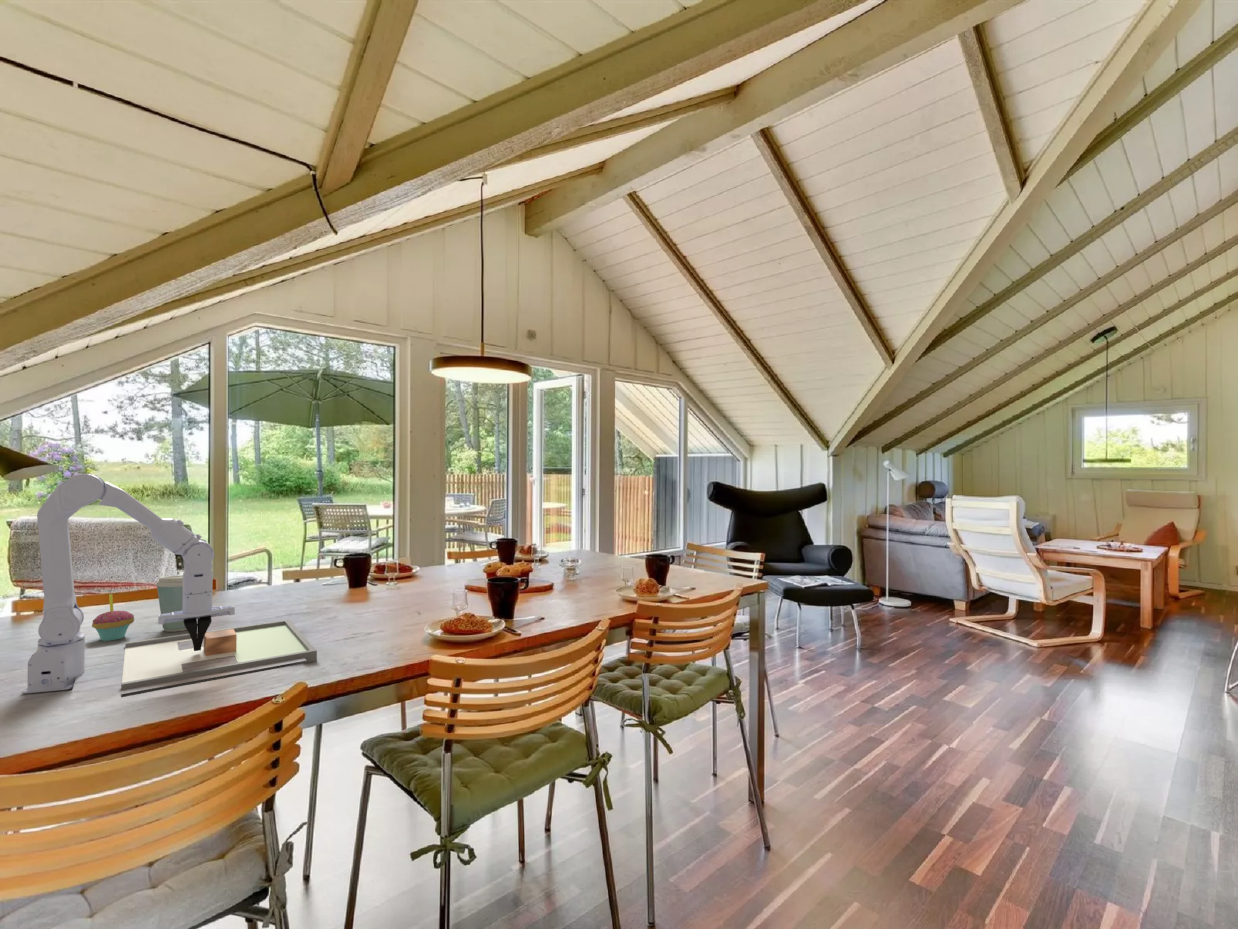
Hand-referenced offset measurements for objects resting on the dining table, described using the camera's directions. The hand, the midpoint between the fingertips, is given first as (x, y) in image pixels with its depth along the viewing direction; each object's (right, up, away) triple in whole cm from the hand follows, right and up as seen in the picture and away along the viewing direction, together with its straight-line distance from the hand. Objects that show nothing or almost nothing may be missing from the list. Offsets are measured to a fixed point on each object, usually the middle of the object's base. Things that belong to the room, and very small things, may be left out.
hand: (197, 649), depth 138 cm
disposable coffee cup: (-23, -3, +26) cm, 35 cm away
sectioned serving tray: (+3, -3, +2) cm, 5 cm away
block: (+3, -1, +3) cm, 5 cm away
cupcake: (-34, -2, +17) cm, 38 cm away
